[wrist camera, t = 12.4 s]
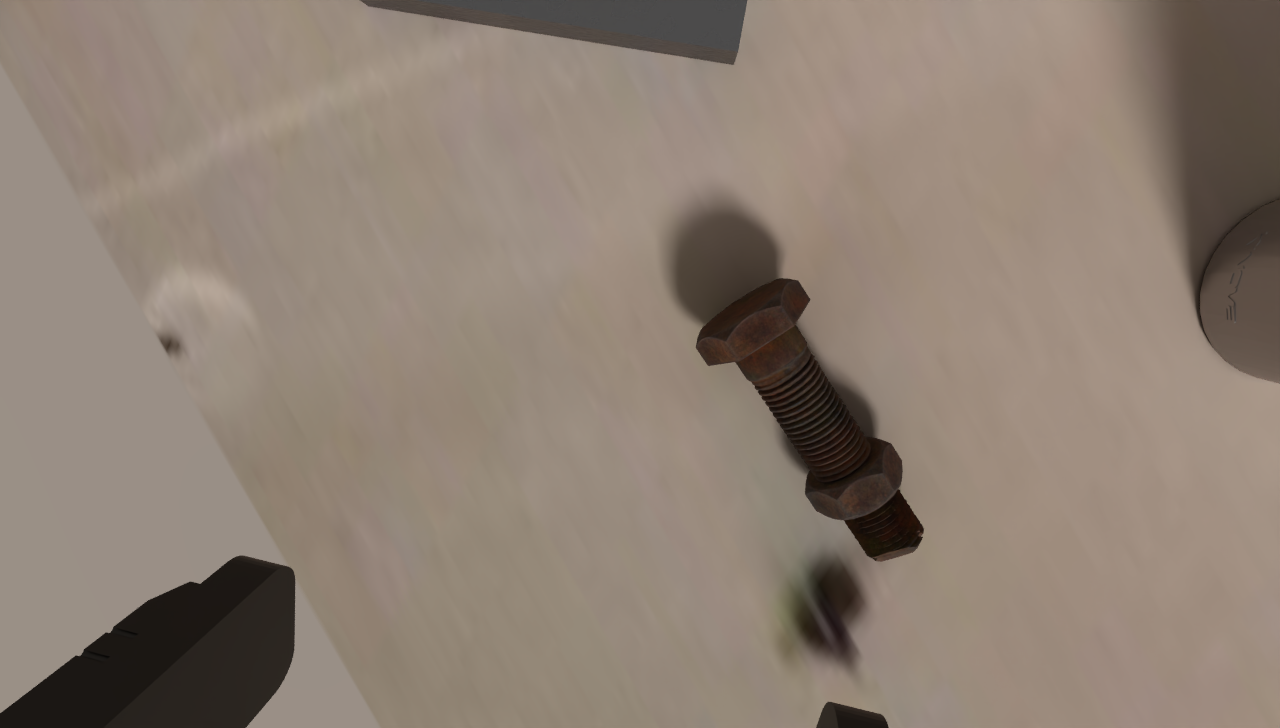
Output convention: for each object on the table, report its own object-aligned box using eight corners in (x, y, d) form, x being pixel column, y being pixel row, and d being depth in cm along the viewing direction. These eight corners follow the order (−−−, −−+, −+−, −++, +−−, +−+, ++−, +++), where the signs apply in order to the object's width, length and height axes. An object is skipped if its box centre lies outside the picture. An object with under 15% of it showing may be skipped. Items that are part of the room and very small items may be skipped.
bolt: (863, 519, 39) (722, 304, 36) (950, 498, 36) (801, 262, 33) (842, 593, 34) (679, 354, 32) (939, 577, 31) (766, 311, 29)
